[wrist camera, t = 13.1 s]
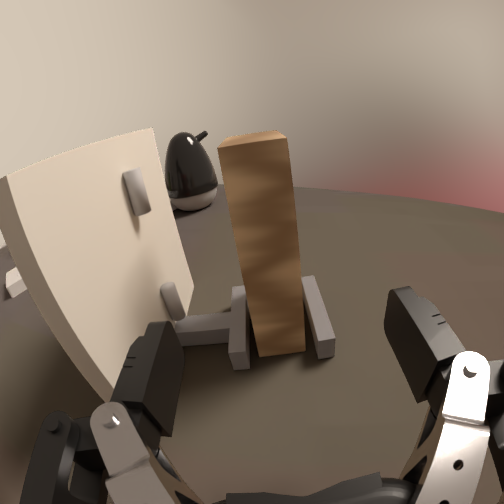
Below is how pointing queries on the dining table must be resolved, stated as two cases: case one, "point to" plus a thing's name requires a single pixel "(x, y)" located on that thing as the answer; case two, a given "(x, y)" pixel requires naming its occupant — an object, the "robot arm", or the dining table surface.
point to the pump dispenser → (189, 173)
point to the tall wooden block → (266, 237)
